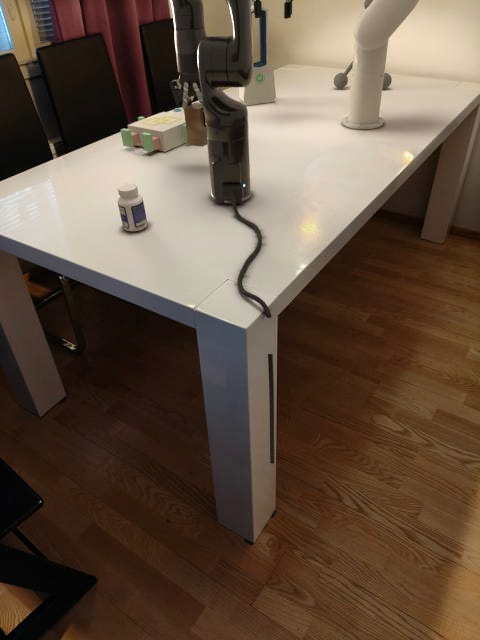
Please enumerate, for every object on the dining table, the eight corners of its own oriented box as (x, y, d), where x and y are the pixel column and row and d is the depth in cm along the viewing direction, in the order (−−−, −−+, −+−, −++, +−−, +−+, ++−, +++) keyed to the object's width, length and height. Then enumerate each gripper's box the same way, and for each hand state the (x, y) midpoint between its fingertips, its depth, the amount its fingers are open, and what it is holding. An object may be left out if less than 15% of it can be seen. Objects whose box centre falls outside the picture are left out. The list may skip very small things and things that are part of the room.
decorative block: (168, 104, 160) (216, 111, 150) (170, 124, 164) (217, 132, 154) (109, 125, 144) (159, 134, 134) (114, 147, 148) (162, 157, 138)
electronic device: (244, 105, 178) (240, 9, 160) (238, 101, 184) (234, 7, 165) (276, 101, 180) (276, 5, 162) (270, 97, 186) (269, 4, 168)
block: (213, 140, 128) (210, 103, 123) (202, 146, 125) (199, 108, 119) (198, 139, 130) (194, 102, 124) (187, 144, 126) (183, 107, 121)
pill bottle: (149, 220, 107) (142, 181, 102) (146, 231, 103) (138, 191, 98) (125, 221, 107) (116, 182, 102) (121, 232, 103) (112, 193, 98)
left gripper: (226, 48, 114) (230, 123, 124) (175, 46, 120) (183, 119, 130) (209, 53, 109) (215, 132, 119) (157, 51, 115) (167, 126, 125)
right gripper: (307, -58, 131) (305, 16, 142) (251, -55, 139) (253, 15, 149) (295, -57, 126) (293, 20, 137) (238, -54, 134) (241, 19, 144)
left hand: (198, 124), depth 124 cm, fingers closed on block, 4 cm apart
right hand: (272, 17), depth 143 cm, fingers open, 9 cm apart
